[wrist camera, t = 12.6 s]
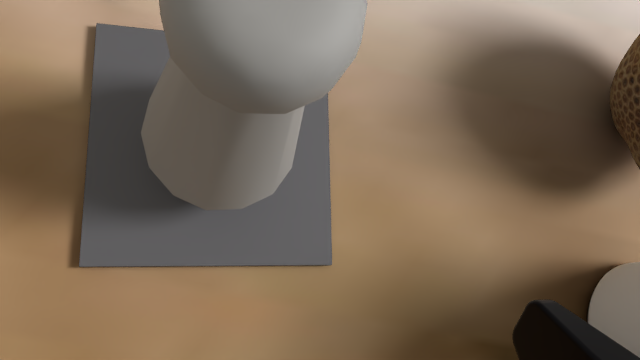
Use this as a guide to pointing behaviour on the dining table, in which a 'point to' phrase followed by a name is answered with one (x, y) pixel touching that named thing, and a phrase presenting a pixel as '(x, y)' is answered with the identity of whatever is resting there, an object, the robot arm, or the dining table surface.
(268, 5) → the salt shaker
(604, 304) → the can
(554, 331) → the robot arm
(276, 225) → the charcoal mat
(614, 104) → the natural sponge
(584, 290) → the dining table surface
